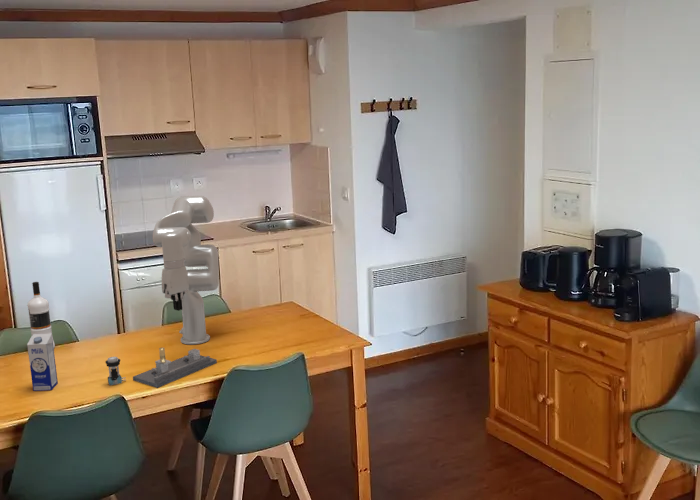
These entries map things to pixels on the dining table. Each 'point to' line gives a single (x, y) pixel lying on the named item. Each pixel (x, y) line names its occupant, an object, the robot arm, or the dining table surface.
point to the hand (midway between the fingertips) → (178, 309)
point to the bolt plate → (176, 369)
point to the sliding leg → (161, 363)
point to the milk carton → (42, 362)
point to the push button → (114, 371)
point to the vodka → (39, 313)
